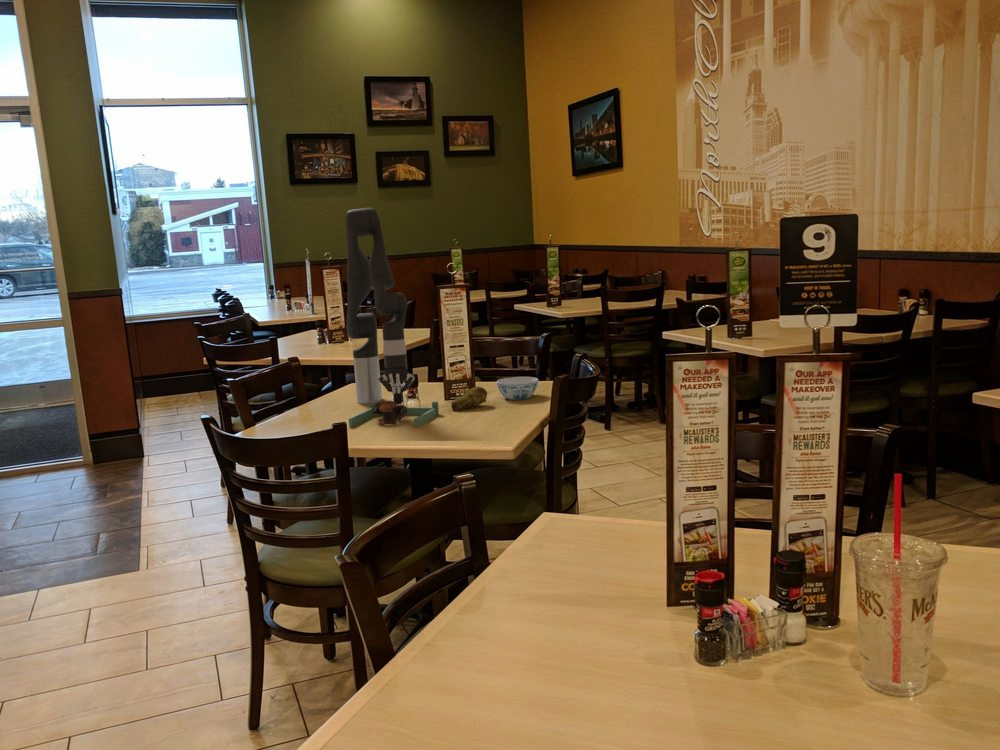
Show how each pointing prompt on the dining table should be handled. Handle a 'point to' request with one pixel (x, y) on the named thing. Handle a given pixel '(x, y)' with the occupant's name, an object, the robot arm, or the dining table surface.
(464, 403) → the olive green tapered lump
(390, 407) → the pottery mug
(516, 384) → the chinaware
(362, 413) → the teal bars
